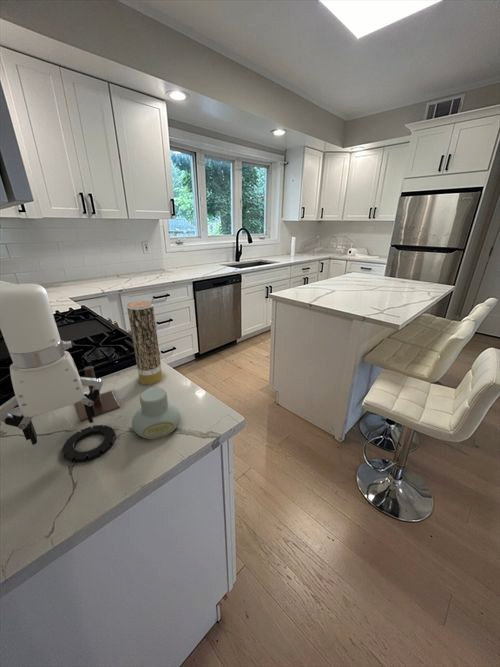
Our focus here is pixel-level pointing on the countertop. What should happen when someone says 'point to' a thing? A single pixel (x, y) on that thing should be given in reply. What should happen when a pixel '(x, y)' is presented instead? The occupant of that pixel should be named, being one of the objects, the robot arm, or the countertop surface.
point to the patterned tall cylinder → (145, 341)
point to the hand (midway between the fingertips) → (63, 429)
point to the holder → (97, 400)
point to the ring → (92, 454)
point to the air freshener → (155, 415)
